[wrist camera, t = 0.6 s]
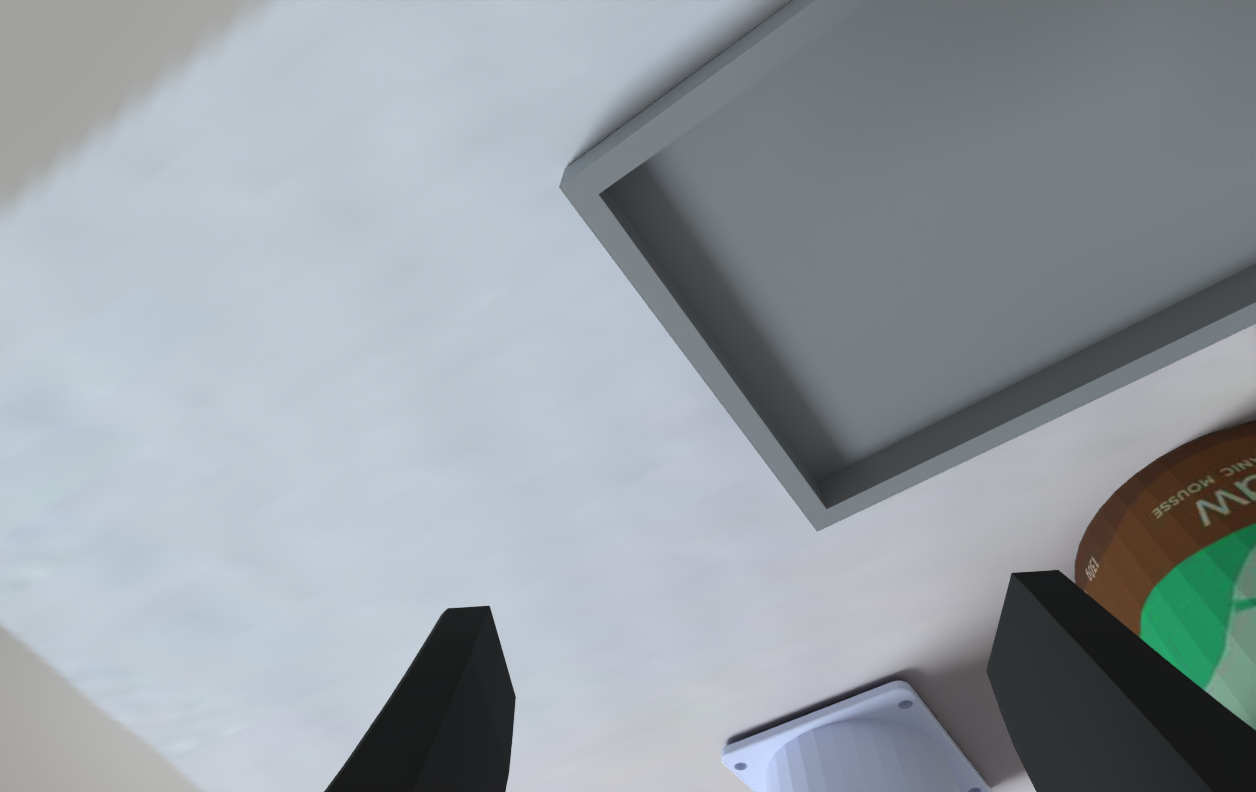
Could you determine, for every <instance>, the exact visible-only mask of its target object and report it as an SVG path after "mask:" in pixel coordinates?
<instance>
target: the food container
mask: <svg viewBox="0 0 1256 792" xmlns="http://www.w3.org/2000/svg"><path fill="white" fill-rule="evenodd" d="M1075 581H1076V585H1077V586H1078V587H1080V588H1081V589H1082V590H1083V591H1084V592H1086V593H1087V594H1088V595H1089V596H1090V597H1092V598H1093V599H1094V600H1095V601H1096V602H1098V603H1099V604H1100V605H1101V606H1102V607H1104V608H1105V609H1106V610H1107V611H1108V612H1110V613H1111V614H1112V615H1113V616H1114V617H1115V618H1117V619H1118V620H1119V621H1120V622H1121V623H1123V624H1124V625H1125V626H1126V627H1127V628H1129V629H1130V630H1131V631H1132V632H1133V633H1135V634H1136V635H1137V636H1138V637H1140V638H1141V639H1142V640H1143V641H1144V642H1146V643H1147V644H1148V645H1149V646H1150V647H1152V648H1153V649H1154V650H1155V651H1156V652H1158V653H1159V654H1160V655H1161V656H1162V657H1164V658H1165V659H1166V660H1167V661H1169V662H1170V663H1171V664H1172V665H1174V666H1175V667H1176V668H1177V669H1178V670H1180V671H1181V672H1182V673H1183V674H1185V675H1186V676H1187V677H1188V678H1190V679H1191V680H1192V681H1193V682H1195V683H1196V684H1197V685H1198V686H1200V687H1201V688H1202V689H1203V690H1205V691H1206V692H1207V693H1208V694H1210V695H1211V696H1212V697H1213V698H1215V699H1216V700H1217V701H1218V702H1220V703H1221V704H1222V705H1223V706H1225V707H1226V708H1227V709H1229V710H1230V711H1231V712H1232V713H1234V714H1235V715H1236V716H1238V717H1239V718H1240V719H1241V720H1243V721H1244V722H1245V723H1247V724H1248V725H1249V726H1251V727H1252V728H1253V729H1254V730H1256V421H1252V422H1248V423H1245V424H1241V425H1238V426H1234V427H1231V428H1227V429H1224V430H1220V431H1217V432H1214V433H1210V434H1207V435H1205V436H1203V437H1200V438H1198V439H1196V440H1193V441H1191V442H1189V443H1186V444H1184V445H1182V446H1180V447H1178V448H1176V449H1175V450H1173V451H1171V452H1169V453H1167V454H1166V455H1164V456H1162V457H1160V458H1158V459H1157V460H1155V461H1154V462H1152V463H1151V464H1149V465H1148V466H1147V467H1145V468H1144V469H1142V470H1141V471H1139V472H1138V473H1137V474H1135V475H1134V476H1133V477H1132V478H1130V479H1129V480H1128V481H1127V482H1126V483H1125V484H1124V485H1122V486H1121V487H1120V488H1119V489H1118V490H1117V491H1116V492H1115V493H1114V494H1113V495H1112V496H1111V497H1110V498H1109V499H1108V500H1107V502H1106V503H1105V504H1104V505H1103V506H1102V507H1101V508H1100V509H1099V511H1098V512H1097V514H1096V515H1095V517H1094V518H1093V520H1092V521H1091V523H1090V524H1089V526H1088V527H1087V529H1086V531H1085V534H1084V536H1083V538H1082V540H1081V542H1080V544H1079V548H1078V552H1077V556H1076V560H1075Z"/></svg>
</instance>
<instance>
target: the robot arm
mask: <svg viewBox="0 0 1256 792" xmlns="http://www.w3.org/2000/svg"><path fill="white" fill-rule="evenodd" d="M987 674H988V677H989V679H990V682H991V685H992V688H993V691H994V694H995V696H996V699H997V702H998V705H999V708H1000V711H1001V713H1002V716H1003V719H1004V721H1005V724H1006V726H1007V729H1008V732H1009V734H1010V737H1011V739H1012V742H1013V745H1014V747H1015V749H1016V751H1017V753H1018V755H1019V757H1020V759H1021V761H1022V763H1023V766H1024V768H1025V770H1026V772H1027V774H1028V776H1029V778H1030V780H1031V782H1032V784H1033V786H1034V788H1035V790H1036V792H1256V730H1254V729H1253V728H1252V727H1251V726H1249V725H1248V724H1247V723H1245V722H1244V721H1243V720H1241V719H1240V718H1239V717H1238V716H1236V715H1235V714H1234V713H1232V712H1231V711H1230V710H1229V709H1227V708H1226V707H1225V706H1223V705H1222V704H1221V703H1220V702H1218V701H1217V700H1216V699H1215V698H1213V697H1212V696H1211V695H1210V694H1208V693H1207V692H1206V691H1205V690H1203V689H1202V688H1201V687H1200V686H1198V685H1197V684H1196V683H1195V682H1193V681H1192V680H1191V679H1190V678H1188V677H1187V676H1186V675H1185V674H1183V673H1182V672H1181V671H1180V670H1178V669H1177V668H1176V667H1175V666H1174V665H1172V664H1171V663H1170V662H1169V661H1167V660H1166V659H1165V658H1164V657H1162V656H1161V655H1160V654H1159V653H1158V652H1156V651H1155V650H1154V649H1153V648H1152V647H1150V646H1149V645H1148V644H1147V643H1146V642H1144V641H1143V640H1142V639H1141V638H1140V637H1138V636H1137V635H1136V634H1135V633H1133V632H1132V631H1131V630H1130V629H1129V628H1127V627H1126V626H1125V625H1124V624H1123V623H1121V622H1120V621H1119V620H1118V619H1117V618H1115V617H1114V616H1113V615H1112V614H1111V613H1110V612H1108V611H1107V610H1106V609H1105V608H1104V607H1102V606H1101V605H1100V604H1099V603H1098V602H1096V601H1095V600H1094V599H1093V598H1092V597H1090V596H1089V595H1088V594H1087V593H1086V592H1084V591H1083V590H1082V589H1081V588H1080V587H1078V586H1077V585H1076V584H1075V583H1073V582H1072V581H1071V580H1070V579H1069V578H1067V577H1066V576H1065V575H1064V574H1062V573H1061V572H1060V571H1059V570H1052V571H1036V572H1020V573H1012V574H1011V578H1010V582H1009V586H1008V590H1007V593H1006V597H1005V601H1004V605H1003V609H1002V613H1001V617H1000V621H999V624H998V628H997V632H996V636H995V640H994V644H993V648H992V652H991V655H990V659H989V663H988V667H987ZM515 698H516V697H515V693H514V690H513V686H512V683H511V679H510V676H509V672H508V669H507V665H506V662H505V658H504V655H503V651H502V648H501V644H500V641H499V637H498V634H497V630H496V627H495V623H494V620H493V616H492V613H491V609H490V606H479V607H464V608H448V609H447V610H446V611H445V612H444V613H443V614H442V615H441V616H440V618H439V620H438V621H437V623H436V625H435V626H434V628H433V630H432V631H431V633H430V635H429V636H428V638H427V639H426V641H425V643H424V644H423V646H422V648H421V649H420V651H419V652H418V654H417V656H416V657H415V659H414V661H413V662H412V664H411V665H410V667H409V668H408V670H407V672H406V673H405V675H404V676H403V678H402V679H401V681H400V683H399V684H398V686H397V687H396V689H395V690H394V692H393V693H392V695H391V697H390V698H389V700H388V701H387V703H386V704H385V706H384V707H383V709H382V710H381V712H380V713H379V714H378V716H377V717H376V719H375V720H374V722H373V723H372V725H371V726H370V728H369V729H368V731H367V732H366V734H365V735H364V737H363V738H362V740H361V741H360V742H359V744H358V745H357V747H356V748H355V750H354V751H353V753H352V754H351V756H350V757H349V758H348V760H347V761H346V763H345V764H344V766H343V767H342V768H341V770H340V771H339V772H338V774H337V775H336V776H335V778H334V779H333V781H332V782H331V783H330V785H329V786H328V787H327V789H326V790H325V791H324V792H505V790H506V785H507V780H508V774H509V767H510V756H511V746H512V736H513V723H514V711H515ZM721 758H722V762H723V763H724V764H725V765H726V766H727V767H728V768H729V769H730V770H731V771H732V772H733V773H735V774H736V775H737V776H738V777H739V778H740V779H741V780H742V781H743V782H744V783H745V784H747V785H748V786H749V787H750V788H751V789H752V790H753V791H754V792H992V790H991V789H990V788H989V786H988V785H987V784H986V782H985V781H984V780H983V779H982V777H981V776H980V775H979V773H978V772H977V771H976V770H975V768H974V767H973V766H972V764H971V763H970V762H969V760H968V759H967V758H966V757H965V755H964V754H963V753H962V751H961V750H960V749H959V748H958V746H957V745H956V744H955V742H954V741H953V740H952V739H951V737H950V736H949V735H948V733H947V732H946V731H945V730H944V728H943V727H942V726H941V724H940V723H939V722H938V721H937V719H936V718H935V717H934V715H933V714H932V713H931V712H930V710H929V709H928V708H927V706H926V705H925V704H924V702H923V701H922V700H921V699H920V697H919V696H918V695H917V693H916V692H915V691H914V690H913V688H912V687H911V686H910V684H908V683H907V682H904V681H893V682H890V683H887V684H885V685H882V686H879V687H877V688H874V689H872V690H869V691H867V692H864V693H861V694H859V695H856V696H854V697H851V698H849V699H846V700H843V701H841V702H838V703H836V704H833V705H831V706H828V707H825V708H823V709H820V710H818V711H815V712H812V713H810V714H807V715H805V716H802V717H800V718H797V719H794V720H792V721H789V722H787V723H784V724H782V725H779V726H776V727H774V728H771V729H769V730H766V731H764V732H761V733H758V734H756V735H753V736H751V737H748V738H745V739H743V740H740V741H738V742H735V743H733V744H730V745H727V746H726V747H724V748H723V749H722V750H721Z"/></svg>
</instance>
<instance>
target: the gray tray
mask: <svg viewBox="0 0 1256 792" xmlns="http://www.w3.org/2000/svg"><path fill="white" fill-rule="evenodd" d="M559 188H560V189H561V190H562V192H563V193H564V194H565V196H566V197H567V198H568V200H569V201H570V202H571V204H572V205H573V206H574V208H575V209H576V210H577V212H578V213H579V214H580V216H581V217H582V218H583V220H584V221H585V222H586V224H587V225H588V226H589V228H590V229H591V230H592V232H593V233H594V234H595V236H596V237H597V239H598V240H599V241H600V243H601V244H602V245H603V247H604V248H605V249H606V251H607V252H608V253H609V255H610V256H611V257H612V259H613V260H614V261H615V263H616V264H617V265H618V267H619V268H620V269H621V271H622V272H623V273H624V275H625V276H626V277H627V279H628V280H629V281H630V283H631V284H632V285H633V287H634V288H635V289H636V291H637V292H638V293H639V295H640V296H641V297H642V299H643V300H644V301H645V303H646V304H647V305H648V307H649V308H650V309H651V311H652V312H653V313H654V315H655V316H656V317H657V319H658V320H659V321H660V323H661V324H662V325H663V327H664V328H665V329H666V331H667V332H668V333H669V335H670V336H671V337H672V339H673V340H674V341H675V343H676V344H677V345H678V347H679V348H680V349H681V351H682V352H683V353H684V355H685V356H686V357H687V359H688V360H689V361H690V363H691V364H692V365H693V367H694V368H695V369H696V371H697V372H698V373H699V375H700V376H701V377H702V379H703V380H704V381H705V383H706V384H707V385H708V387H709V388H710V389H711V391H712V392H713V393H714V395H715V396H716V397H717V399H718V400H719V401H720V403H721V404H722V405H723V407H724V408H725V409H726V411H727V412H728V413H729V415H730V416H731V417H732V419H733V420H734V421H735V423H736V424H737V425H738V427H739V428H740V429H741V431H742V432H743V433H744V435H745V436H746V437H747V439H748V440H749V441H750V443H751V444H752V445H753V447H754V448H755V449H756V451H757V452H758V453H759V455H760V456H761V457H762V459H763V460H764V461H765V463H766V464H767V465H768V467H769V468H770V469H771V471H772V472H773V473H774V475H775V476H776V477H777V479H778V480H779V481H780V483H781V484H782V485H783V487H784V488H785V489H786V491H787V492H788V493H789V495H790V496H791V497H792V499H793V500H794V501H795V503H796V504H797V505H798V507H799V508H800V509H801V511H802V512H803V513H804V515H805V516H806V517H807V519H808V520H809V521H810V523H811V524H812V525H813V527H814V528H815V529H816V531H819V530H822V529H824V528H826V527H828V526H830V525H832V524H834V523H836V522H838V521H841V520H843V519H845V518H847V517H849V516H851V515H853V514H855V513H857V512H860V511H862V510H864V509H866V508H868V507H870V506H872V505H874V504H876V503H879V502H881V501H883V500H885V499H887V498H889V497H891V496H893V495H895V494H898V493H900V492H902V491H904V490H906V489H908V488H910V487H912V486H914V485H917V484H919V483H921V482H923V481H925V480H927V479H929V478H931V477H933V476H935V475H938V474H940V473H942V472H944V471H946V470H948V469H950V468H952V467H954V466H957V465H959V464H961V463H963V462H965V461H967V460H969V459H971V458H973V457H976V456H978V455H980V454H982V453H984V452H986V451H988V450H990V449H992V448H995V447H997V446H999V445H1001V444H1003V443H1005V442H1007V441H1009V440H1011V439H1014V438H1016V437H1018V436H1020V435H1022V434H1024V433H1026V432H1028V431H1030V430H1033V429H1035V428H1037V427H1039V426H1041V425H1043V424H1045V423H1047V422H1049V421H1052V420H1054V419H1056V418H1058V417H1060V416H1062V415H1064V414H1066V413H1068V412H1070V411H1073V410H1075V409H1077V408H1079V407H1081V406H1083V405H1085V404H1087V403H1089V402H1092V401H1094V400H1096V399H1098V398H1100V397H1102V396H1104V395H1106V394H1108V393H1111V392H1113V391H1115V390H1117V389H1119V388H1121V387H1123V386H1125V385H1127V384H1130V383H1132V382H1134V381H1136V380H1138V379H1140V378H1142V377H1144V376H1146V375H1149V374H1151V373H1153V372H1155V371H1157V370H1159V369H1161V368H1163V367H1165V366H1168V365H1170V364H1172V363H1174V362H1176V361H1178V360H1180V359H1182V358H1184V357H1187V356H1189V355H1191V354H1193V353H1195V352H1197V351H1199V350H1201V349H1203V348H1206V347H1208V346H1210V345H1212V344H1214V343H1216V342H1218V341H1220V340H1222V339H1224V338H1227V337H1229V336H1231V335H1233V334H1235V333H1237V332H1239V331H1241V330H1243V329H1246V328H1248V327H1250V326H1252V325H1254V324H1256V0H792V1H791V2H790V3H788V4H787V5H786V6H784V7H783V8H782V9H780V10H779V11H777V12H776V13H775V14H773V15H772V16H771V17H769V18H768V19H767V20H765V21H764V22H763V23H761V24H760V25H759V26H757V27H756V28H754V29H753V30H752V31H750V32H749V33H748V34H746V35H745V36H744V37H742V38H741V39H740V40H738V41H737V42H735V43H734V44H733V45H731V46H730V47H729V48H727V49H726V50H725V51H723V52H722V53H721V54H719V55H718V56H717V57H715V58H714V59H712V60H711V61H710V62H708V63H707V64H706V65H704V66H703V67H702V68H700V69H699V70H698V71H696V72H695V73H693V74H692V75H691V76H689V77H688V78H687V79H685V80H684V81H683V82H681V83H680V84H679V85H677V86H676V87H675V88H673V89H672V90H670V91H669V92H668V93H666V94H665V95H664V96H662V97H661V98H660V99H658V100H657V101H656V102H654V103H653V104H651V105H650V106H649V107H647V108H646V109H645V110H643V111H642V112H641V113H639V114H638V115H637V116H635V117H634V118H633V119H631V120H630V121H628V122H627V123H626V124H624V125H623V126H622V127H620V128H619V129H618V130H616V131H615V132H614V133H612V134H611V135H609V136H608V137H607V138H605V139H604V140H603V141H601V142H600V143H599V144H597V145H596V146H595V147H593V148H592V149H591V150H589V151H588V152H586V153H585V154H584V155H582V156H581V157H580V158H578V159H577V160H576V161H574V162H573V163H572V164H570V165H569V166H567V167H566V168H565V170H564V174H563V177H562V180H561V183H560V187H559Z"/></svg>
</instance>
